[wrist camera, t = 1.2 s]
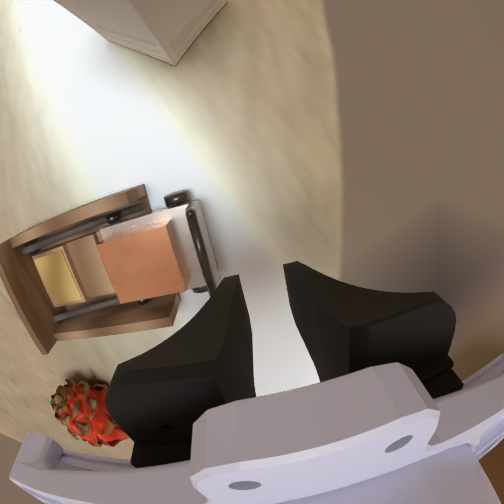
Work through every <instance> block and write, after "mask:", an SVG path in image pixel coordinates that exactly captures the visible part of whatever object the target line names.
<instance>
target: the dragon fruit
mask: <svg viewBox="0 0 504 504" xmlns="http://www.w3.org/2000/svg"><path fill="white" fill-rule="evenodd" d="M65 381H67V385H64V386H61V385H60V386H59V387H58V388H57V390H56V393H55V394H54V395H51V397H52V400H51V402H50V403H51V405H52V408H53V410H54V411H56V412H55V417H56V419H57V420H59V421H61V423H62V424H63V425H66V426H67V427H68V432H69V433H70V434H71V435H72V437H73V438H74V439H77V440H79V439H78V438H77V437H76V436H77V435H79V436H80V437H81V438H82V440H83V441H88V443H89V444H91V445H92V446H96V447H100V446H102V444H104V445H107V446H111V447H114V446H115V445H116V444H118V443H119V442H120V441H122V440H124V439H127V438H129V436H128V435H127V434H126V433H125V432H124V431H123V430H122V429H121V428H120V427H119V426H118V424H117V423H116V422H115V421H114V420H113V419H112V417H111V416H110V414H109V413H108V411H107V409H106V406H105V396H106V393H107V390H108V386H107V385H105V384H94V385H93V386H92V384H91V383H88V382H85V381H83V380H80V381H79V382H78V385H80V384H83V385H81V386H78V385H77V384H76V383H75V382H74V381H72V380H71V379H66V380H65ZM97 387H103V388H101V389H94V388H97Z"/></svg>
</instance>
